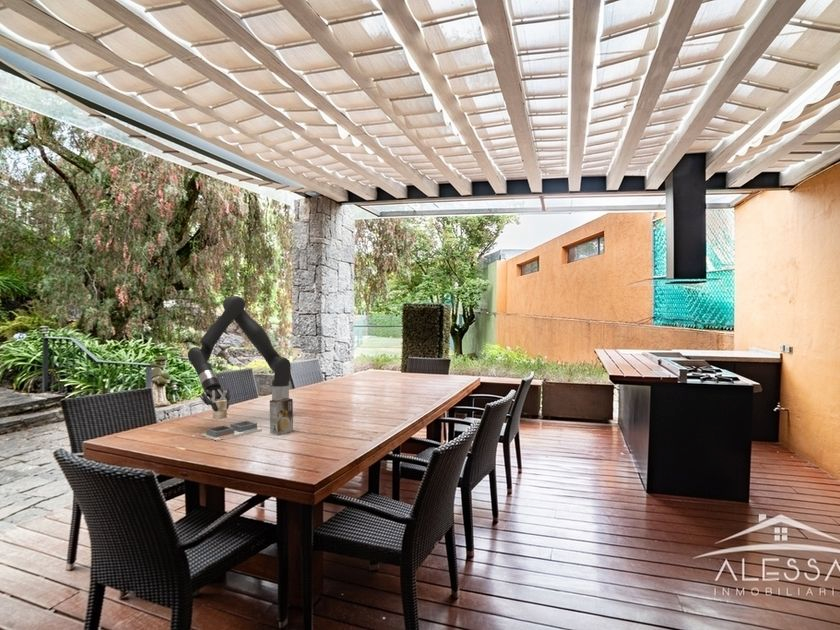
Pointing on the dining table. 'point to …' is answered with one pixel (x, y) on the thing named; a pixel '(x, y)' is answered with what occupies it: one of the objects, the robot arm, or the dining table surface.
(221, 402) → the plug
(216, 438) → the socket board
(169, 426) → the dining table surface
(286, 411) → the coffee box
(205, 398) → the robot arm
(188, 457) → the dining table surface
